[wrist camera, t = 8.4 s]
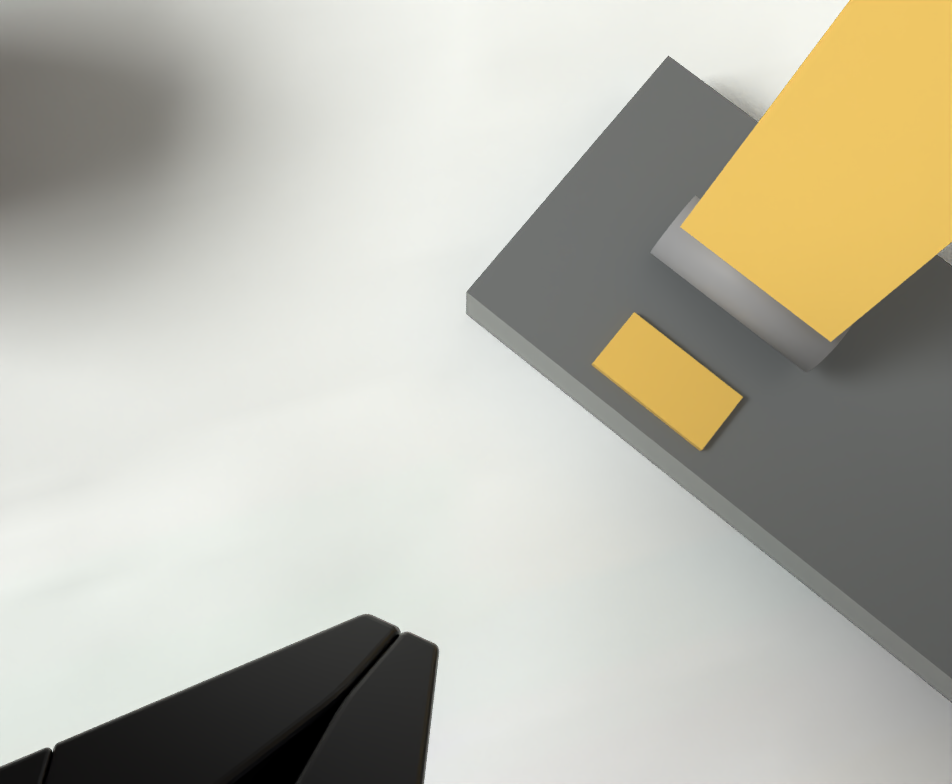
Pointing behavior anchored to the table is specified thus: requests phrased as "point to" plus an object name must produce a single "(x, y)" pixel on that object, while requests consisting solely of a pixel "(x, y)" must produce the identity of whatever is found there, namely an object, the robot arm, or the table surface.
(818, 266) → the rocker amber
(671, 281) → the grey switch base
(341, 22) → the table surface
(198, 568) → the table surface
